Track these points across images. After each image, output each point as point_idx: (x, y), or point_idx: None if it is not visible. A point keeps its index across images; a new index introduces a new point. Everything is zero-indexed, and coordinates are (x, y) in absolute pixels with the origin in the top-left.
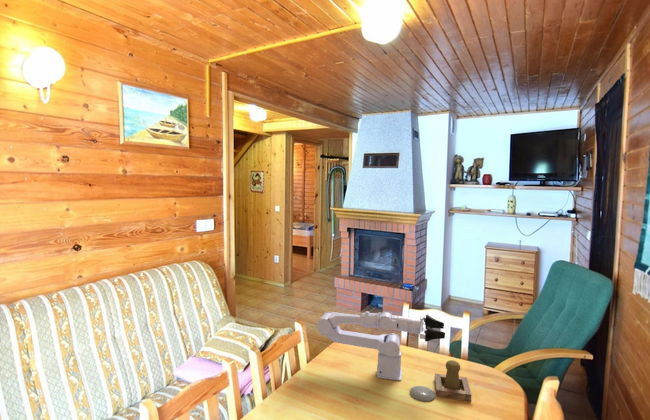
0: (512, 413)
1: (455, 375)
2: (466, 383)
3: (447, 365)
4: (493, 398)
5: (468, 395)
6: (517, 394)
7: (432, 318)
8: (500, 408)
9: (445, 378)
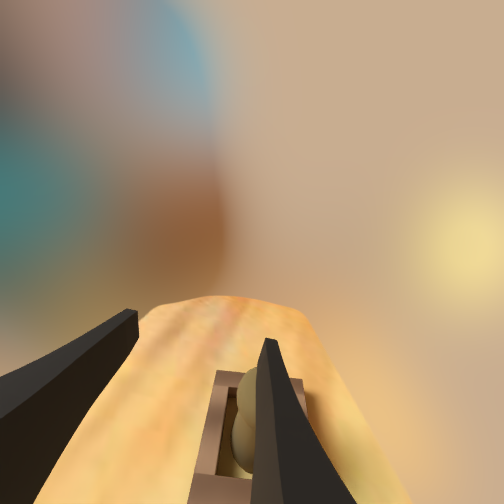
0: (307, 322)
1: None
2: None
3: None
4: (269, 337)
5: (302, 388)
6: (245, 300)
7: (7, 380)
8: (300, 335)
9: (253, 451)
